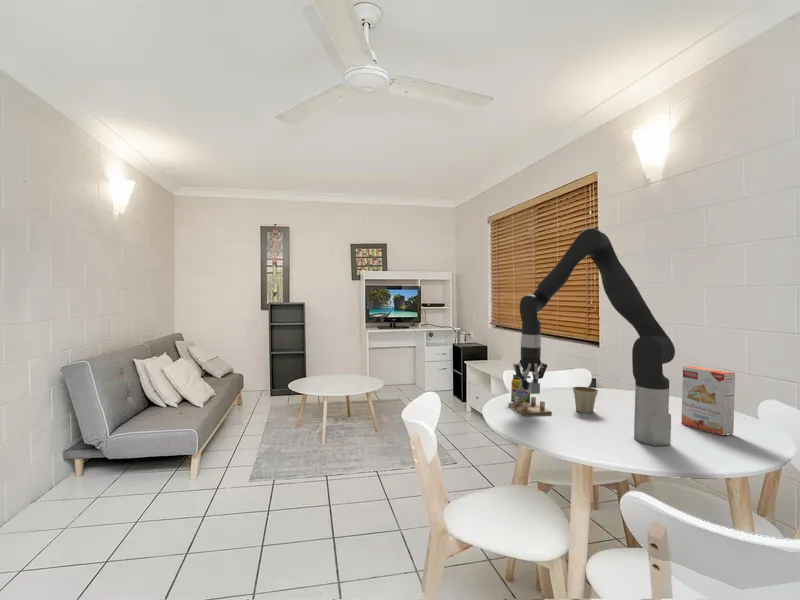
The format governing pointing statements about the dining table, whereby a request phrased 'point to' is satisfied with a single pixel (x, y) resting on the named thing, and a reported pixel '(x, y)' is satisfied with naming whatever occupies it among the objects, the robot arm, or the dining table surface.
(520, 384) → the translucent grey block
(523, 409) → the rack
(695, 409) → the cracker box
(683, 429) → the dining table surface
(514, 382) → the crayon box
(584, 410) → the flower pot
